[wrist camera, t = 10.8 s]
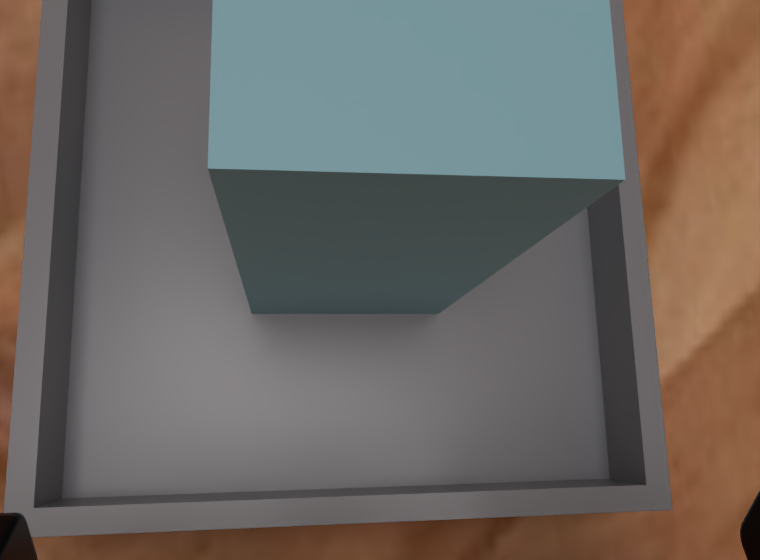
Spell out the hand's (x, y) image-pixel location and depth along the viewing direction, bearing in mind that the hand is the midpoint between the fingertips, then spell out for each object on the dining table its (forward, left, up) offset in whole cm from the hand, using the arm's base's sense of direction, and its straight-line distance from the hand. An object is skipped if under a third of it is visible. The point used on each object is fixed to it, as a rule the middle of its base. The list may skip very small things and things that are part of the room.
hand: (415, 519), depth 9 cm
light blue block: (+6, -3, -10) cm, 12 cm away
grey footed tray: (+6, -3, -13) cm, 15 cm away
